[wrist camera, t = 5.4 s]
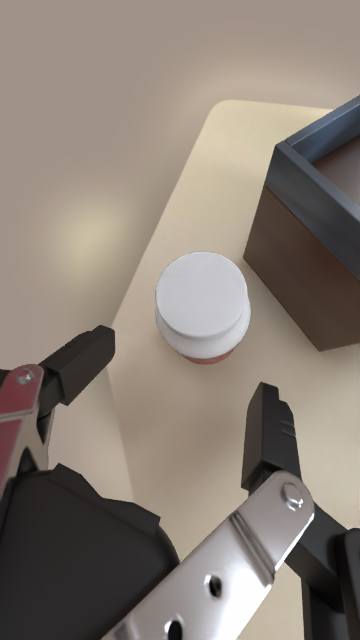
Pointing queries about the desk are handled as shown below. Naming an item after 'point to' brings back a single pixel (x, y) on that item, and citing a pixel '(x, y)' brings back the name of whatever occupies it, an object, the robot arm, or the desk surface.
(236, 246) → the desk surface
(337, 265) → the cube pen cup
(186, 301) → the pill bottle
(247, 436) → the robot arm
